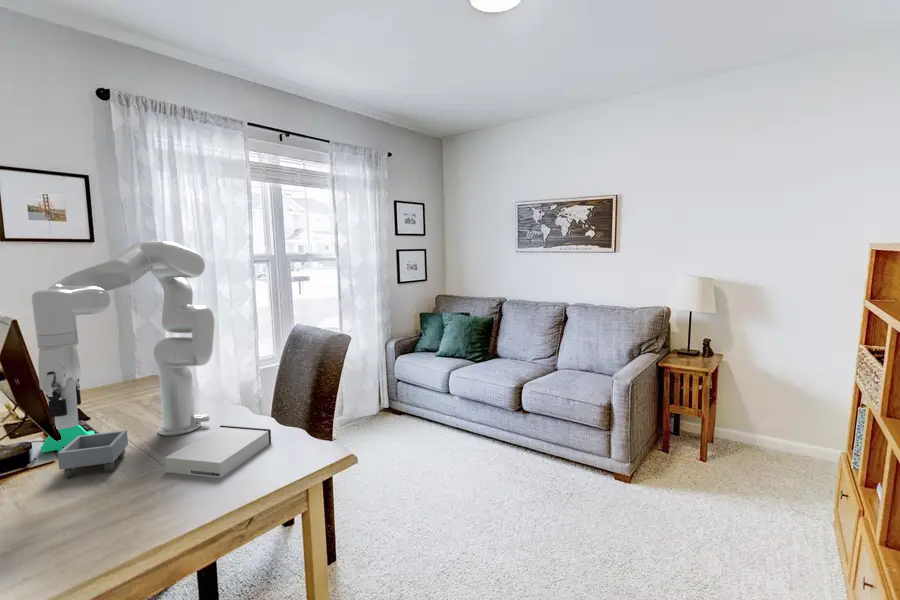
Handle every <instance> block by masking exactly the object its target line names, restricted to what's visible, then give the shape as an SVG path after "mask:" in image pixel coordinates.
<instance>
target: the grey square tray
mask: <svg viewBox="0 0 900 600" xmlns="http://www.w3.org/2000/svg"><path fill="white" fill-rule="evenodd" d="M128 446H129V439H128V430H127V429H124V430H116V431H108V432H99V433H95V434H90V435H82V436H77V437H76V438H75V439H74V440H73V441H71V442H70V443H69V444H68V445H67V446H66V447H64V448H63V449H62V450H61V451H60V452H57V460H58V470H59V471H60V470H64V471H63V476H64V478H65V479H68V478H73V477H74V475H75V471H76V469H75V468H81V467H88V466H95V465H102V464H103V465H104V471H105V473H110V472H113V471H114V467H115V460H117V459H120V458H122V459H123V458H124V457H125V454H126V448H127V447H128Z"/></svg>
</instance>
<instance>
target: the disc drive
mask: <svg viewBox="0 0 900 600" xmlns="http://www.w3.org/2000/svg"><path fill="white" fill-rule="evenodd" d="M271 444H272V434H271V429H269V428H256V427H244V426H243V427H242V426H233V425H231V426H230V425H220V426H219V427H218V428H216V429H214V430H213V431H211V432H209V433H206V434H205V435H204V436H202V437H200V438H198V439H196V440H194V441H192V442H190V443H188V444H187V445H185V446H184V447H181V448H180V449H178V450H176V451H174V452H172V453H170V454H169V455H167V456H165V458H164V460H165V472H166V473H170V474H177V475H178V474H180V475H189V476H197V477H199V476H200V477H209V478H216V479H217V478H218V479H219V478H220V479H222V478H223V477H224V476H226V475H228V474H229V473H231V472H232V471H233V470H234V469H236V468H237V467H239V466H240V465H241V464H243V463H245V462H247V460H248V459H250V458H251V457H253V456H255V455H256V454H257V453H258V452H260V451H261V450H263V449H264V448H265V447H267V446H268V445H271Z"/></svg>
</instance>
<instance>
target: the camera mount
mask: <svg viewBox="0 0 900 600" xmlns="http://www.w3.org/2000/svg"><path fill="white" fill-rule="evenodd" d="M59 433H60V435H61V440H60V441H59V442H58V441H56V440H54V439H53V438H51V437H50V436H49V435H48V436H47V437H46V439H45V440H44V442H43V444H42V445H41V447H40V452H41V454H43V453H47V452H53V451H57V453H59V452H60V451H61V450H62V449H63V448H62V447H66V446H67V445H68V444H69V443H70V442H71V441H73V440H74V439H75V438H76V437H77V436H82V435H90V434H96V433H95V431H94V430H89V431H86V430H85V429H84V427H82V425H80V424H79V425H77V426H74V427H70V428H65V429H59Z"/></svg>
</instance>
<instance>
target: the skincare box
mask: <svg viewBox="0 0 900 600" xmlns="http://www.w3.org/2000/svg"><path fill="white" fill-rule="evenodd" d="M60 386H61V385H60V384H57V382H55V383H54V386H53V387H60ZM54 391H56V392H57V393H58V394H59V390H54ZM63 399H66V406H67V415H65V416H57V417H54V424H55V425H54V427H55V426H56V429H57V430H59V429H65V428H70V427H74V426H77V425H80V424H79V414H78V413H79V412H78V405H77V396H76V384H75V378H74V377H72V378H71V379H69V385H68V386H67V387H65V389H64V398H63Z"/></svg>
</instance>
